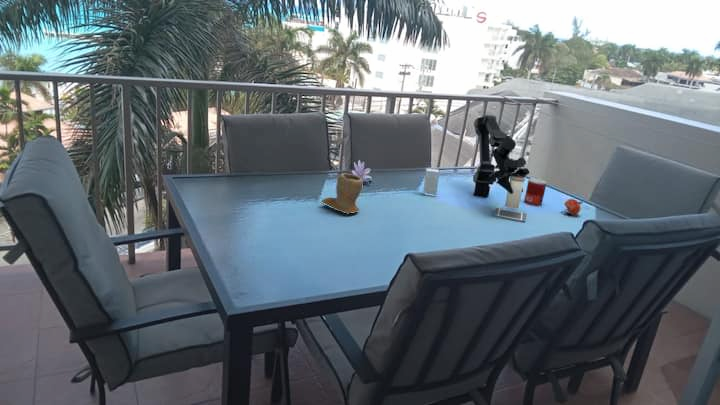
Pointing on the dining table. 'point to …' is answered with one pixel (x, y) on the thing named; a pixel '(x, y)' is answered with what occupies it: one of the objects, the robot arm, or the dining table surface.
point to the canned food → (535, 191)
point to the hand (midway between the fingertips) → (517, 192)
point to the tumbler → (515, 191)
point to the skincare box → (431, 181)
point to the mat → (510, 215)
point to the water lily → (361, 171)
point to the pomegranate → (573, 206)
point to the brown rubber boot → (346, 193)
